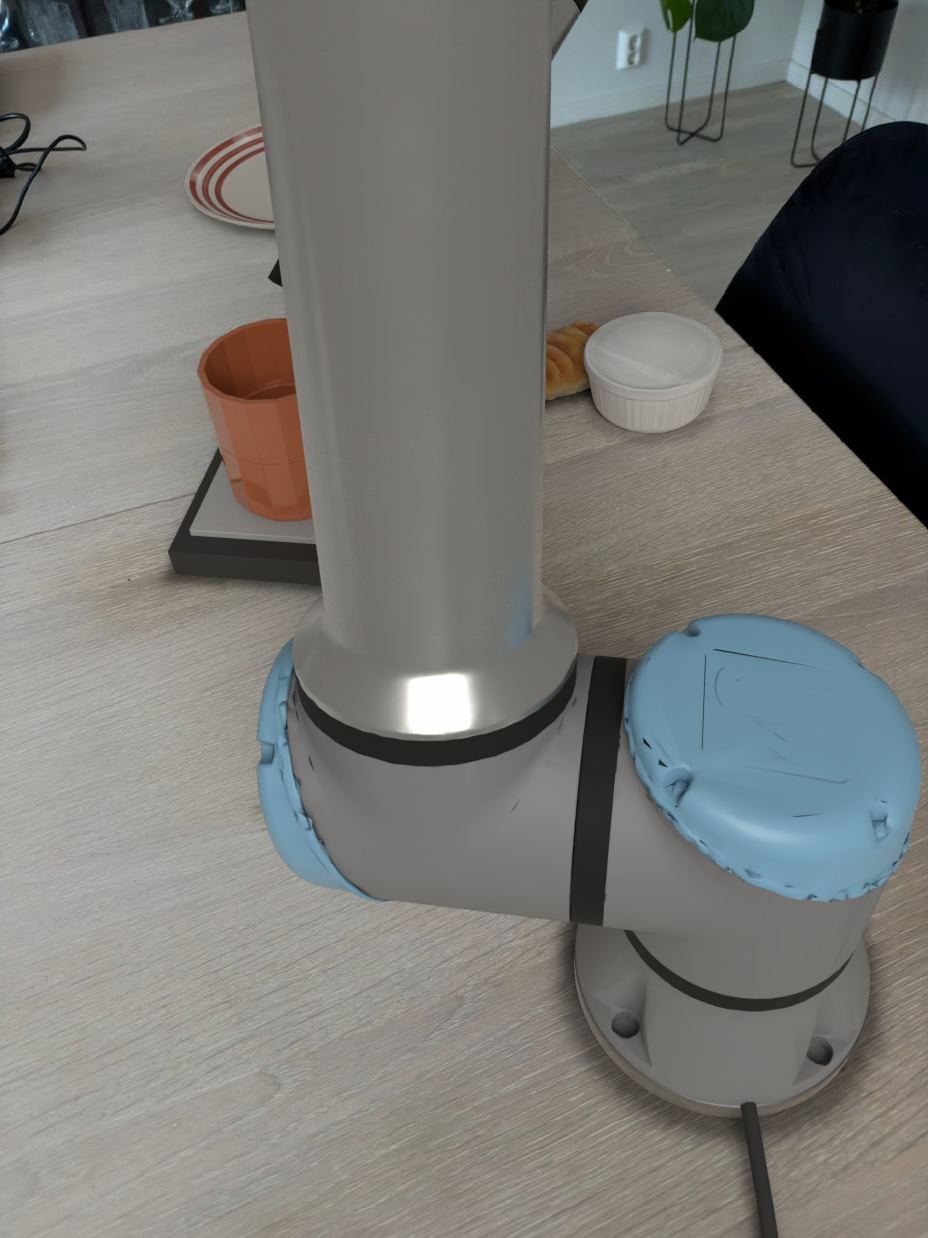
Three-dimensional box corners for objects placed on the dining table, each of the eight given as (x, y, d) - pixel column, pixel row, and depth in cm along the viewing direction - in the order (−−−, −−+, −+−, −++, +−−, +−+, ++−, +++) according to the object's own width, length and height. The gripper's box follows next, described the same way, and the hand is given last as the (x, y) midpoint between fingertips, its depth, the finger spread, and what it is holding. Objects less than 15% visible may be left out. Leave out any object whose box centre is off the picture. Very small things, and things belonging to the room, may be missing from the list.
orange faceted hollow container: (286, 545, 79) (256, 423, 71) (206, 482, 84) (169, 362, 76) (392, 476, 83) (374, 354, 75) (309, 421, 89) (285, 301, 81)
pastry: (541, 418, 92) (540, 381, 89) (491, 382, 95) (489, 346, 93) (623, 374, 95) (625, 336, 92) (572, 341, 99) (572, 304, 96)
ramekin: (578, 440, 90) (579, 387, 86) (587, 361, 97) (588, 308, 93) (717, 446, 88) (724, 392, 84) (715, 365, 95) (722, 312, 92)
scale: (383, 590, 80) (378, 561, 77) (175, 574, 82) (165, 545, 80) (423, 450, 90) (420, 421, 88) (238, 439, 93) (230, 411, 90)
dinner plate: (144, 237, 117) (135, 207, 115) (254, 125, 134) (249, 98, 132) (382, 265, 110) (378, 235, 108) (466, 144, 127) (465, 115, 125)
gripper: (650, 135, 66) (461, 429, 72) (428, 23, 81) (286, 275, 87) (583, 68, 61) (383, 393, 67) (357, -40, 75) (210, 235, 81)
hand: (328, 327), depth 77 cm, fingers open, 13 cm apart
